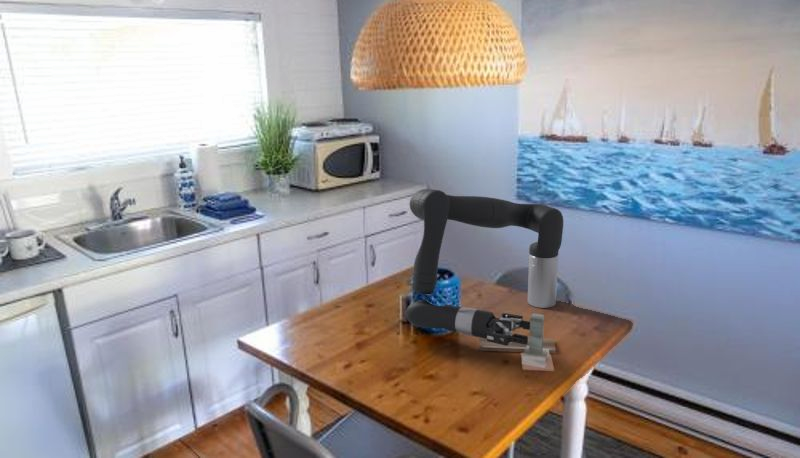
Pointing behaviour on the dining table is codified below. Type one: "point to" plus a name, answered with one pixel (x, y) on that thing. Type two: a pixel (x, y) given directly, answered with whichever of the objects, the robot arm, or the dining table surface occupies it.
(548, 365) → the end pad
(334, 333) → the dining table surface
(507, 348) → the grey-brown board
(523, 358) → the tall grey square pillar
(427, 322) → the robot arm
